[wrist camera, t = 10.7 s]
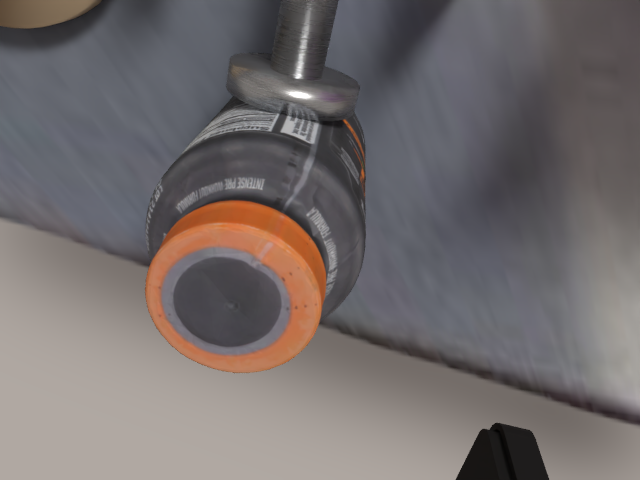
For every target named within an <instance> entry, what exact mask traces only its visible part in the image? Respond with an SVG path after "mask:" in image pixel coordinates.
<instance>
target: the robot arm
mask: <svg viewBox="0 0 640 480" xmlns="http://www.w3.org/2000/svg"><path fill="white" fill-rule="evenodd" d="M456 480H549V478H548V475H547V472H546V469H545V466H544V463H543V460H542V457H541V454H540V451H539V448H538V445H537V442H536V439H535V437H534V435H533V433H532V432H531V431H530V430H526V429H522V428H518V427H514V426H509V425H505V424H501V423H495V424H494V425H492V427H491V428H490V430H487V429H482V430H481V431H480V432H479V434H478V436H477V438H476V440H475V442H474V444H473V446H472V448H471V450H470V452H469V454H468V456H467V458H466V460H465V462H464V464H463V466H462V468H461V470H460V472H459V474H458V476H457V478H456Z"/></svg>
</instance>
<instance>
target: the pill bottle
mask: <svg viewBox="0 0 640 480" xmlns="http://www.w3.org/2000/svg"><path fill="white" fill-rule="evenodd" d="M365 180H366V177H365V140H364V134H363V130H362V127H361V125H360V123H359V121H358V118H357V116H356V115H355V113H353V115H352V116H351V117H350V118H347V119H344V120H338V121H316V120H307V119H300V118H294V117H289V116H286V115H282V114H276V113H273V112H269V111H266V110H263V109H260V108H257V107H255V106H252V105H250V104H247V103H245V102H243V101H241V100H239V99H238V98H236V97H235V96H233V97H232V98H231V99H230V101H229V102H228V103H227V104H226V105H225V107H224V108H223V109H222V110H221V111H220V112H219V113H218V114H217V115H216V116H215V117H214V119H213V120H212V121H211V122H210V123H209V124H208V125H207V127H206V128H205V129H204V130H203V131H202V132H201V133H200V134H199V135H198V136H197V137H196V138H195V139H194V140H193V141H192V142H191V143H190V144H189V145H188V146H187V148H186V149H185V150H184V152H183V153H182V154H181V155H180V157H179V158H178V159H177V160H176V161H175V162H174V163H173V164H172V165H171V167H170V168H169V169H168V171H167V172H166V173H165V174H164V176H163V177H162V178H161V180H160V182H159V183H158V184H157V186H156V188H155V190H154V193H153V195H152V198H151V200H150V204H149V208H148V212H147V218H146V242H147V249H148V254H149V258H150V261H151V264H150V266H149V270H148V273H147V278H146V287H145V294H146V302H147V306H148V310H149V313H150V315H151V318H152V320H153V322H154V323H155V326H156V327H157V329H158V330H159V332H160V333H161V334H162V336H164V338H165V339H166V340H167V341H168V342H169V344H170V345H171V346H172V347H174V348H175V349H176V350H177V351H179V352H180V353H181V354H183V355H184V356H186V357H187V358H189V359H191V360H193V361H195V362H197V363H199V364H202V365H204V366H207V367H210V368H213V369H217V370H221V371H226V372H233V373H250V372H258V371H263V370H268V369H271V368H274V367H276V366H279V365H281V364H284V363H286V362H287V361H289V360H291V359H292V358H294V357H295V356H296V355H297V354H299V353H300V352H301V351H302V350H303V349H304V348H305V347H306V346H307V345H308V343H309V342H310V340H311V339H312V337H313V336H314V334H315V332H316V329H317V327H318V325H319V322H320V321H322V320H323V319H325V318H326V317H327V316H328V315H329V314H331V313H332V312H333V311H334V310H335V309H336V308H337V307H338V306H339V305H340V304H341V303H342V302H343V301H344V300H345V298H346V297H347V296H348V294H349V293H350V292H351V290H352V288H353V286H354V285H355V283H356V280H357V278H358V276H359V273H360V270H361V267H362V263H363V258H364V252H365V238H366V230H365V226H366V225H365V219H366V218H365Z"/></svg>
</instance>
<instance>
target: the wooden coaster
mask: <svg viewBox="0 0 640 480" xmlns="http://www.w3.org/2000/svg"><path fill="white" fill-rule="evenodd" d="M101 1H102V0H0V26H4V27H10V28H28V29H29V28H38V27H45V26H49V25H53V24H57V23H61V22H65V21H68V20H72V19H74V18H76V17H79V16H81V15H83V14H85V13H87V12H88V11H90V10H91V9H93V8H94V7H95V6H97V5H98V4H99V3H100V2H101Z"/></svg>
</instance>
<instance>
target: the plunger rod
mask: <svg viewBox="0 0 640 480" xmlns="http://www.w3.org/2000/svg"><path fill="white" fill-rule="evenodd" d="M338 1H339V0H281V4H280V10H279V16H278V22H277V28H276V34H275V40H274V45H273V51H272V54H265V53H240V54H235V55H233V56H231V57H230V62H229V69H228V77H227V84H226V88H227V90H228V91H229V92H230V93H231V94H232V95H233V96H235V97H236V98H238V99H239V100H241V101H243V102H245V103H247V104H250V105H252V106H255V107H257V108H260V109H263V110H266V111H269V112H273V113H276V114H282V115H286V116H289V117H294V118H300V119H307V120H316V121H338V120H344V119H347V118H350V117H351V116H352V115H353V113H354V109H355V105H356V101H357V98H358V94H359V90H360V85H359V84H358V83H357V82H356V81H355V80H354V79H352V78H351V77H349V76H347V75H345V74H343V73H341V72H339V71H336V70H334V69H331V68H328V67H325V66H324V65H325V61H326V56H327V51H328V47H329V42H330V38H331V33H332V28H333V24H334V19H335V15H336V10H337V5H338Z"/></svg>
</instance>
